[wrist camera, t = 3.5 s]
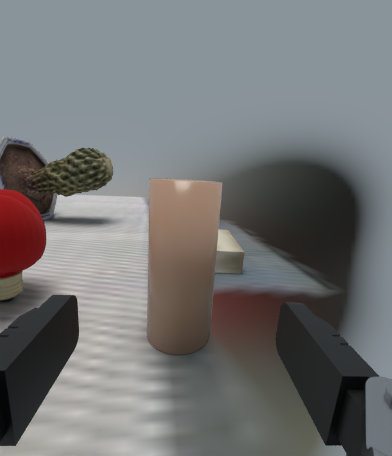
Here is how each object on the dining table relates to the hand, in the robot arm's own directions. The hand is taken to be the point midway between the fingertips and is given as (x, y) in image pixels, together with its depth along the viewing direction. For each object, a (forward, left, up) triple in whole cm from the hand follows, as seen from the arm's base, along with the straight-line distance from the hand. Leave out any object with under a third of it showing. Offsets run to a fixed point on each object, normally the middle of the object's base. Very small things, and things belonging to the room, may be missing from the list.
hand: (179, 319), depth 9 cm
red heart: (-16, +13, -7) cm, 22 cm away
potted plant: (-31, +46, -7) cm, 56 cm away
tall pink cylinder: (0, +9, -7) cm, 11 cm away
